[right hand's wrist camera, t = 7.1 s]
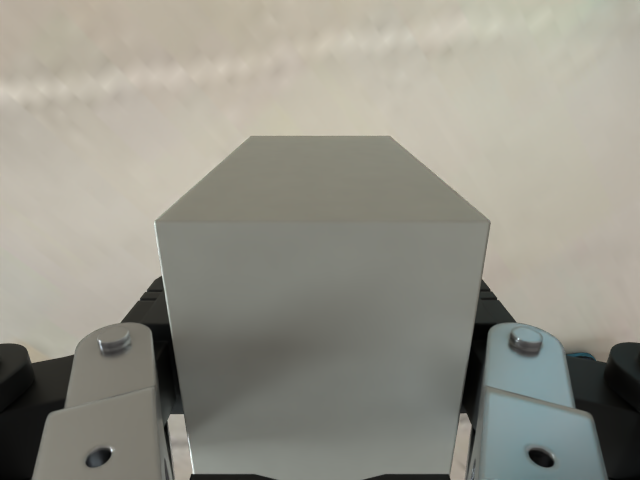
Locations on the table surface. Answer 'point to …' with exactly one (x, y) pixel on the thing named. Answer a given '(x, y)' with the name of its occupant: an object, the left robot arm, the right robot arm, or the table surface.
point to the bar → (321, 309)
